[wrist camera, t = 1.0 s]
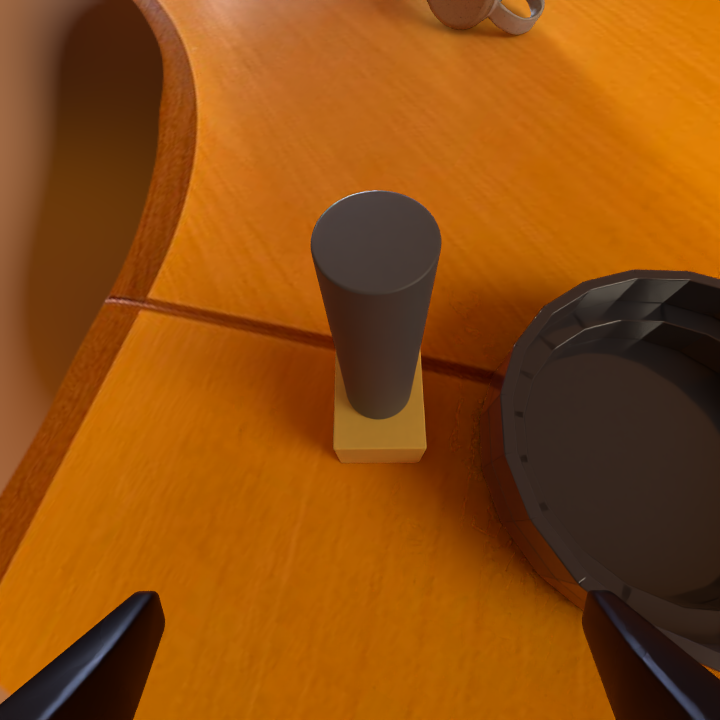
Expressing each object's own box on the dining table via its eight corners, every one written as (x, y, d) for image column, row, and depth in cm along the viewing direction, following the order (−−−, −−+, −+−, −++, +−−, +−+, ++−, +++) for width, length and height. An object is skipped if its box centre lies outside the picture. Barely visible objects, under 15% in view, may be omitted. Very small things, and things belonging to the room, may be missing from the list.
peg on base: (419, 462, 22) (481, 348, 8) (340, 463, 22) (275, 351, 9) (413, 363, 25) (455, 147, 11) (342, 364, 25) (294, 154, 11)
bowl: (903, 589, 19) (1071, 606, 14) (558, 692, 18) (618, 746, 13) (693, 290, 26) (761, 237, 21) (436, 354, 25) (449, 313, 20)
